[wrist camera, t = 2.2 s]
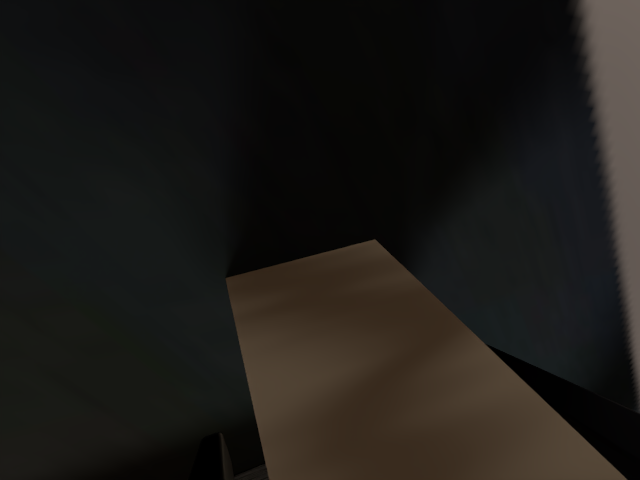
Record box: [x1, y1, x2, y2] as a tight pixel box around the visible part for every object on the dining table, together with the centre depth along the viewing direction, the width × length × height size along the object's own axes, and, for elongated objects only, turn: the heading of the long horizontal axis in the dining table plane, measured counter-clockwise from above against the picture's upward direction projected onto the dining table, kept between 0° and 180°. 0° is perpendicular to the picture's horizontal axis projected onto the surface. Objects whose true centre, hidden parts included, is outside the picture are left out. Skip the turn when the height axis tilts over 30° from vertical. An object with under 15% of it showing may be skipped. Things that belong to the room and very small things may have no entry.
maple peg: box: [226, 239, 627, 480], centre depth 8 cm, size 4×4×8 cm
